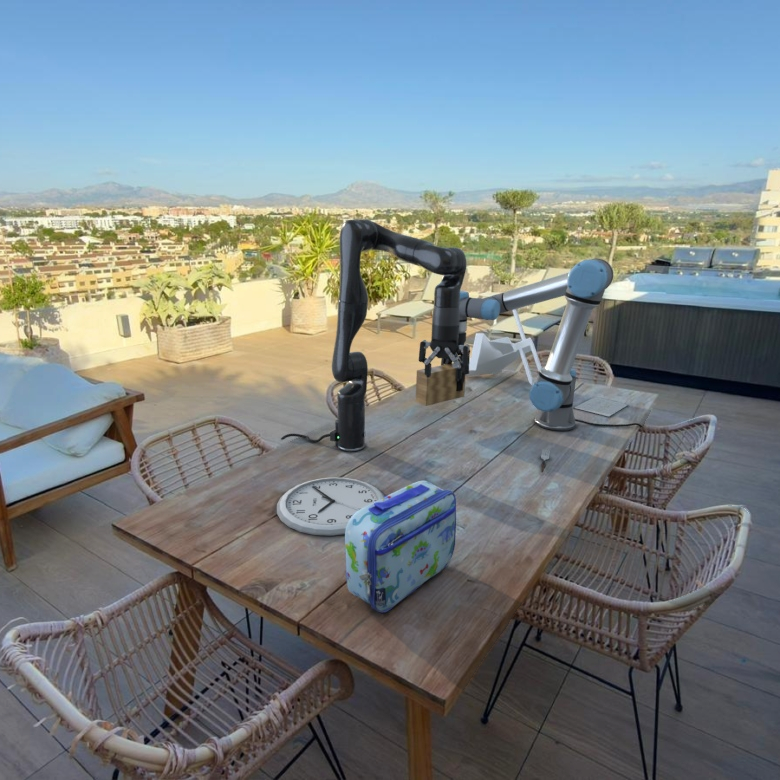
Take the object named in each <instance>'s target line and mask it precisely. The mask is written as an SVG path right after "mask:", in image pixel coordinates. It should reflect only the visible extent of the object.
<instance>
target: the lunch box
mask: <svg viewBox="0 0 780 780" xmlns="http://www.w3.org/2000/svg"><path fill="white" fill-rule="evenodd" d="M456 531H457V499H456V495H455V493H454V492H453V490H450V489H442V488H440V487H439V486H437V485H435V484H433V483H432V482H430V481H428V480H418V481H416V482H413V483H410V484H409V485H406V486H405V487H402V488H400V489H398V490H396V491H394V492H392V493H390V494H388V495H385V497H384V498H382V499H380V500H378V501H376V502H374V503H372V504H370V505H368V506H366V507H364V508H362V509H360V510H358V511H357V512H355V513H354V514H353V515H352V517H351V518H350V520H349V522H348V524H347V527H346V531H345V534H344V552H345V577H346V578H345V580H346V586H347V589H348V592H349V593H350V594H352V595H354V596H356V597H357V598H359V599H361V600H363V602H365V603H367V604H368V605H370V607H371V608H372V609H373V610H375V611H376V612H378V613H380V614H382V613H383V614H385V613H387V612H389V611H391V609H393V608H394V607H395V606H396V605H397V604H400V602H401V601H402V600H404V599H406V597H409V596H410V595H411V594H412V593H414V592H415V591H416V590H417V589H418V588H420V587H421V586H422V585H423V584H424V583H425V582H427V581H428V580H430V579H432V578H433V577H434V576H436V575H437V574H439V573H441V572H442V571H443V570H445V568H446V567H447V566H448V564H449V563H450V561H451V560H452V557H453V554H454V551H455V548H456V547H455V546H456Z"/></svg>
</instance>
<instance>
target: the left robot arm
mask: <svg viewBox="0 0 780 780" xmlns="http://www.w3.org/2000/svg"><path fill="white" fill-rule="evenodd" d="M368 251H380V252H386V253H388V254H391V255H393V256H394V257H395V258H396V259H398V260H400V261H402V262H404V263H408V264H411V265H413V266H417V267H421V268H423V269H425V270H426V271H429V272H430V273H433V274H435V275H438V276H442V277H441V281H440V283H438V284H436V286H435V287H434V291H433V308H432V315H431V316H432V317H431V337H430V338H431V340H430V341H427V340H426V339H423V340H422V341H420V343H419V352H418V362H419V363H422V364H424V369H425V375H426V377H428V378H429V377H430V376H431V367H432V361H433V360H435V358H437V359H442V358H444V359H451V360H452V363H454V364H455V365H456V367H457V368H456V376H455V381H459V379H461V377H462V368H463V367H467V366H468V365H469V363H470V358H471V349H470V344H469V343H467V344H464V345H459V342H458V338H459V323H460V311H459V304H460V291H461V290H462V286H463V283H464V279H465V275H466V272H467V265H468V264H467V262H468V261H467V257H466V254H465V252H464V250H462V249H461V248H459V247H441V246H437V245H434V244H433V243H432V242H430V241H428V240H424V239H421V238H418V237H413V236H410V235H405V234H402V233H399V232H395V231H393V230H391V229H389V228H386V227H384V226H383V225H381V224H379V223H377V222H375V221H373V220H370V219H367V218H358V219H347V220H346V221H344V223H343V224H342V225H341V228H340V231H339V263H340V267H339V291H338V299H337V317H336V318H337V320H336V331H335V340H334V345H333V352H332V359H331V373H332V377H333V378H334V380H335V381H336V382H338V383H345V382H347V383H346V384H345V385H344V386H343V387H341V388H340V389H339V390H338V391H337V395H336V397H337V419H336V420H335V421H334V423H335V424H334V426H335V427H334V428H335V429H334V430H331V431H330V432H329V433H326V434H323V435H321V436H320V437H319V438H317V439H311V438H310V437H309V436H308V435H304V434H300V433H288V434H285V435H283V436H282V437H280V440H281V441H283V440H285V439H287V438H289V437H298V438H302V439H306V440H307V442H309V443H319V442H321V441H322V440H323V439H325V438H329V441H331V442H335V447H337V448H338V449H339V450H341V451H344V452H359V451H362V450H363V449H365V447H366V435H367V433H366V394H367V390H368V372H369V370H368V369H369V367H368V366H369V365H368V360H367V357H366V355H365V354H364V353H363V352H361V351H352V352H351V347H352V344H353V341H354V340H355V337H356V335H357V334H358V333H359V331H360V329H361V328H362V326H363V325H364V323H365V321H366V318H367V315H368V306H369V293H368V290H367V289H368V288H367V286H366V283H365V281H364V279H363V276H362V272H361V256H362V252H368ZM428 348H430V350H431V351H432V352H431V354H429V356H428V357H426V354H427V349H428ZM459 349H460V350H461V352H462V353H463V362H461V360H460V358H459V356H460V355H459V356H458V354H457V353H456V352H457V351H458V350H459ZM455 355H456V356H455Z"/></svg>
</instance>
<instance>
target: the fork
mask: <svg viewBox="0 0 780 780" xmlns="http://www.w3.org/2000/svg"><path fill="white" fill-rule="evenodd" d="M550 450H551V449H550V448H549V450H548V448H547V449H546V451H548V452H546V451H544V450H542V451H541V455H540V458H541V460H542V463H541V473H543V472H544V470H545V468H546V461H547V460H549V459H550Z"/></svg>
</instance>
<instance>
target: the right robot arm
mask: <svg viewBox="0 0 780 780" xmlns="http://www.w3.org/2000/svg"><path fill="white" fill-rule="evenodd" d="M613 280H614V269H613V267H612V265H611V264H610V263H609V262H608V261H607V260H605V259H602V258H589V259H584V260H581V261H580V262H577V264H575V265H574V266H573V267H572V268H570V270H569V271H568V272H566V273H563V274H560V275H556V276H553V277H550V278H546V279H542V280H540V281H536V282H533V283H530V284H527V285H522V286H520V287H517V288H514V289H510V290H507V291H504V292H499V293H496V294H494V295H490V296H487V297H483V298H477V297H471V296H470V294H469V292H468V291H465V290H460V304H459V311H460V323H459V338H458V342H459V345H465V344H466V342H467V332H468V331H467V330H468V318H469V319H478V320H485V321H495V320H497V319H498V317H499V315H500V314H504V313H507V312H511V311H512V310H514V309H516V310H518V309H521V308H524V307H529V306H533V305H536V304H539V303H543V302H546V301H550V300H553V299H557V298H561V297H564V298H565V299H566V305H565V308H564V311H563V313H562V317H561V320H560V322H559V326H558V328H557V332H556V334H555V338H554V340H553V343H552V347H551V349H550V352H549V355H548V358H547V361H546V364H545V365H544V366H542V368H541V369H540V371H538V373H537V377H536V380H535V381H534V385H533V386H532V385H531V387H530V390H529V394H528V395H529V400H530V402H531V404H532V405H533V407H534V408H535V409H536V410H537V411H536V413H535V416H534V424H535V425H536V426H537V427H539V428H542V429H544V430H549V431H556V432H567V431H572V430H574V429H575V428H576V422H577V423H582V424H586V425H588V426H589V425H590V426H595V427H612V428H613V427H615V428H616V427H632V426H638V427H639V428H642V429H643V428H644V426H643V424H642V425H641V424H640V423H637V422H633V423H624V424H623V423H621V424H620V423H619V424H610V423H609V424H605V423H594V422H589V421H586V420H582V419H576V418H575V417H576V416H575V413H574V407H573V405H574V398H575V389H576V382H577V379H578V377H577V370H575V369H574V368H573V365H574V362H575V360H576V357H577V355H578V351H579V349H580V346H581V343H582V341H583V338H584V335H585V332H586V329H587V327H588V324H589V322H590V319H591V315H592V313H593V310H594V309H595V308H597V307H599V306H600V305H601V303H602V300H603V296H604V294H605V291H606V289H608V288H609V287H610V286H611V284H612V282H613ZM456 353H457V354H458V356H459V358H460V360H461V362H463V353H462V352H461V350H460V349H459V350H458V351H457V352H456ZM455 356H456V355H455ZM440 359H441V361H440V366H441V365H447V364H452V363H453V362H452V360H451V359H444V358H440ZM466 374H469V365H468V366H467V367H463V368H462V377H461V379H459V381H457V390H456V391H461V390H463V383H464V376H465V375H466ZM465 377H466V376H465Z"/></svg>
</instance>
